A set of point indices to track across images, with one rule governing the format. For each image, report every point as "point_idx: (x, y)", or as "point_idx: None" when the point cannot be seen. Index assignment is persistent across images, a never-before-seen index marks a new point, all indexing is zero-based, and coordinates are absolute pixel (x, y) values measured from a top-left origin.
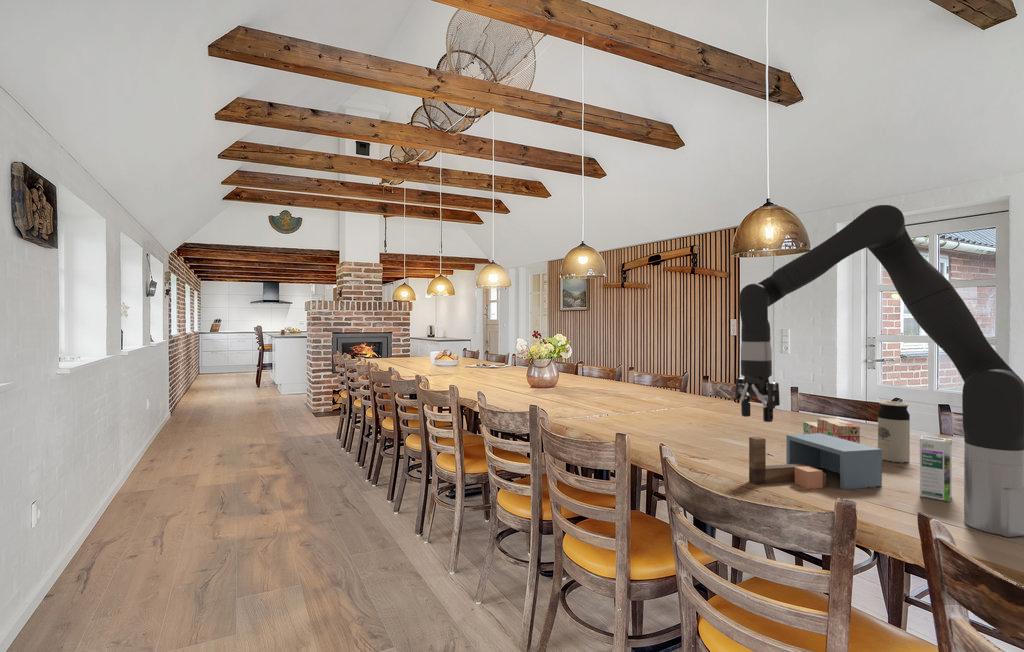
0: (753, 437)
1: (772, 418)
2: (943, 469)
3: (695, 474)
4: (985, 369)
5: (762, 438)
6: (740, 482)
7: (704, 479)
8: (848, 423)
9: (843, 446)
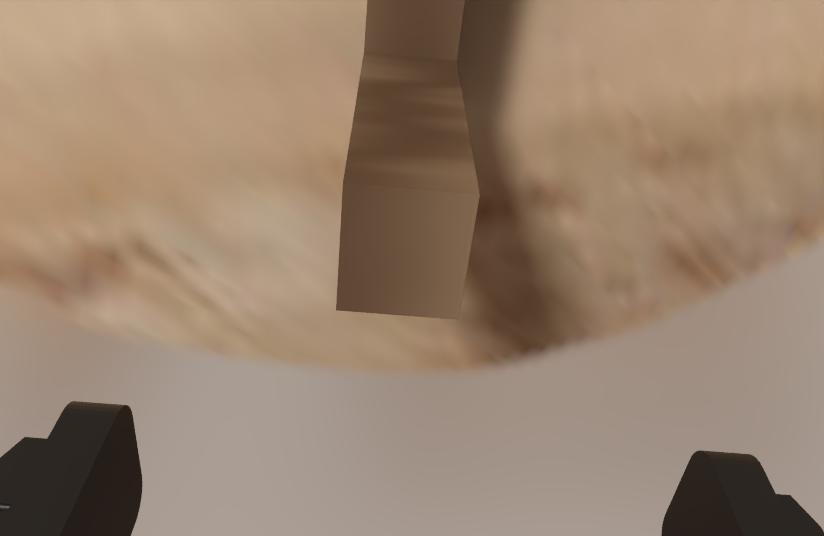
0: (364, 276)
1: (810, 528)
2: None
3: (136, 323)
4: None
5: (445, 213)
6: None
7: (249, 335)
8: None
9: None
